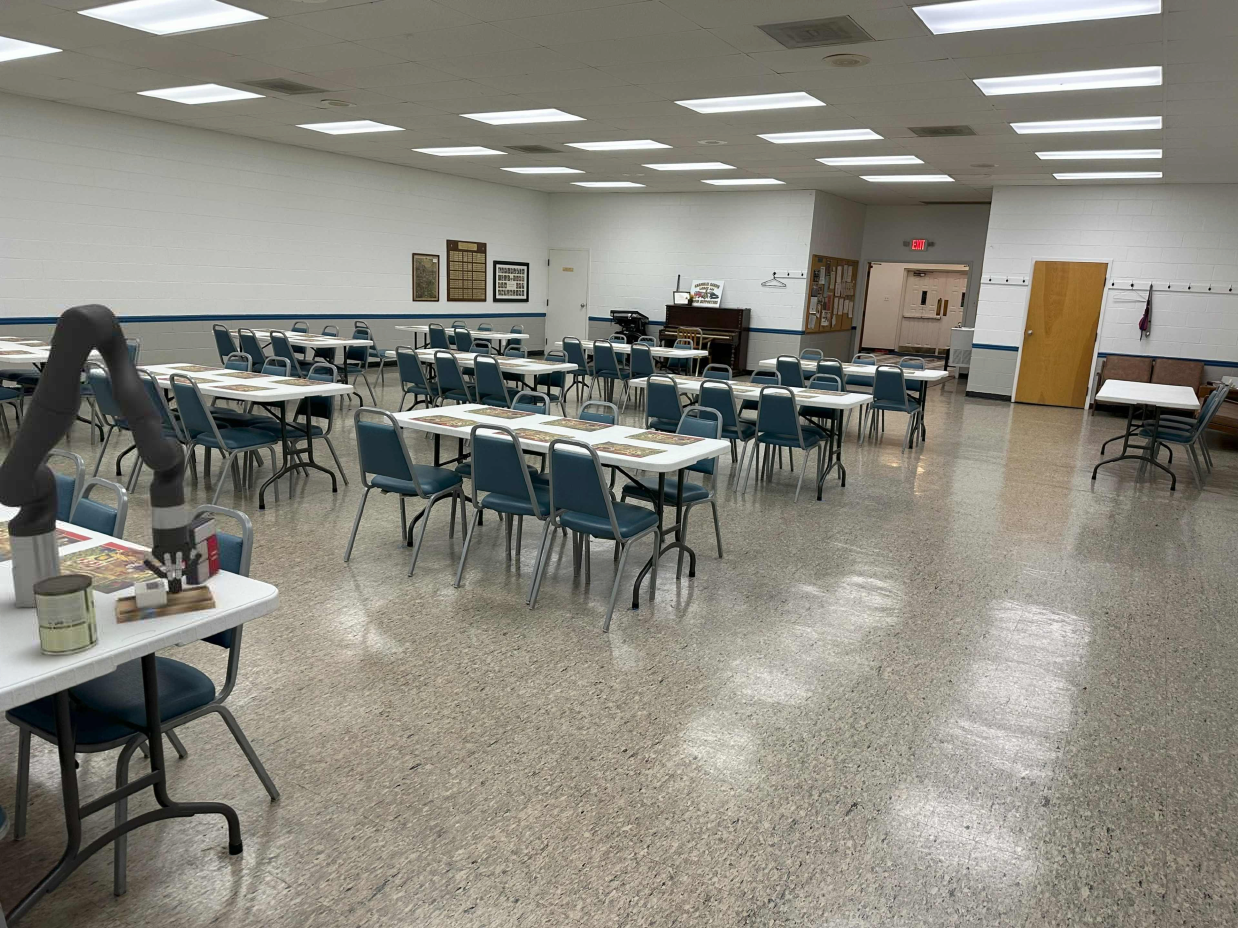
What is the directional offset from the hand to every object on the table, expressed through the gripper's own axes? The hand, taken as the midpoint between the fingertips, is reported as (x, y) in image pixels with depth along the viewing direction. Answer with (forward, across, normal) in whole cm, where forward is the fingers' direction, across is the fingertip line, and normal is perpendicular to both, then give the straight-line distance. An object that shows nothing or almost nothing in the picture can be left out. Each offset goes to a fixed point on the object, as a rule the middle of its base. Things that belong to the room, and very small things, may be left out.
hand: (175, 593), depth 200 cm
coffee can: (+3, -21, -15) cm, 26 cm away
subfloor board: (+3, -2, 0) cm, 4 cm away
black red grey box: (+3, +8, +18) cm, 20 cm away
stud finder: (+1, -5, 0) cm, 5 cm away
